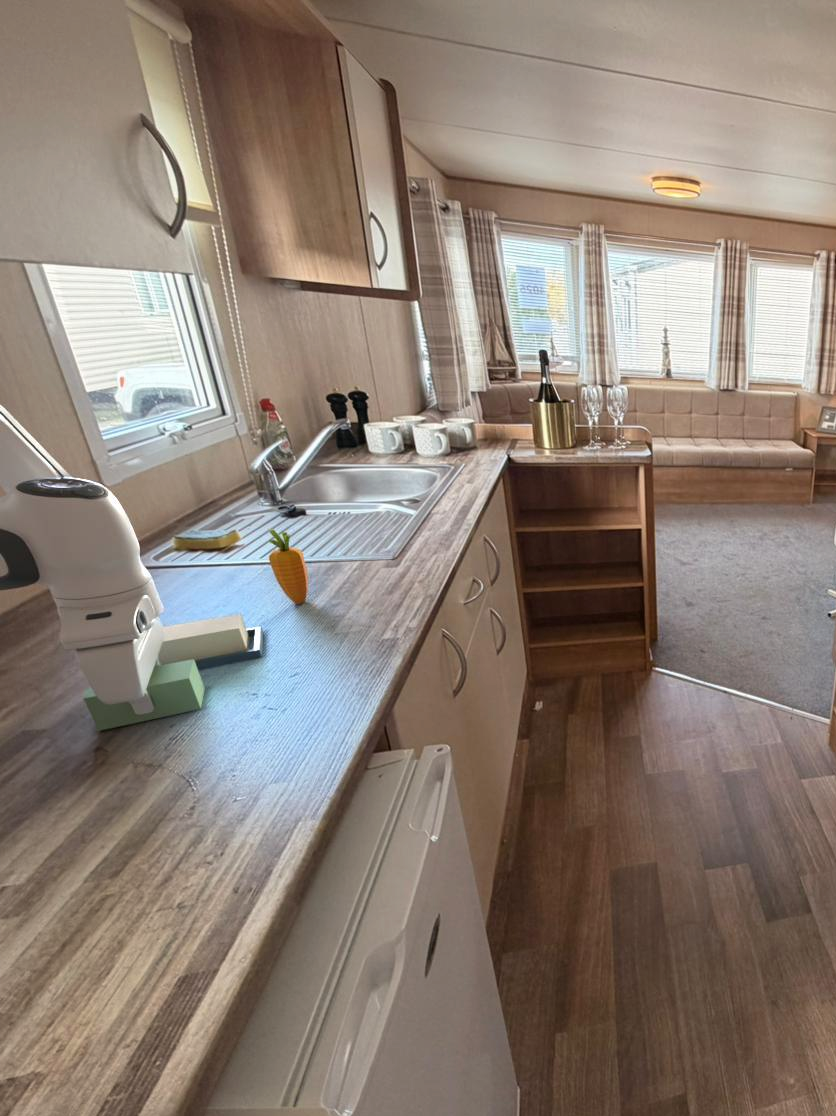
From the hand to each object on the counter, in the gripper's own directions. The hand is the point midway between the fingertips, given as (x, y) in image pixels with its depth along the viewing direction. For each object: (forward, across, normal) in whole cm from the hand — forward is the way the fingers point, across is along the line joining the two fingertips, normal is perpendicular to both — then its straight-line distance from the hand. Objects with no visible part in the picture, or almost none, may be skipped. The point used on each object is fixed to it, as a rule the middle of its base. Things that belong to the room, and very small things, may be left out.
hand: (150, 697), depth 87 cm
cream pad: (+2, -15, +4) cm, 16 cm away
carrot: (+3, -31, +16) cm, 35 cm away
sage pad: (+2, 0, 0) cm, 2 cm away
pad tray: (+3, -15, +4) cm, 16 cm away
